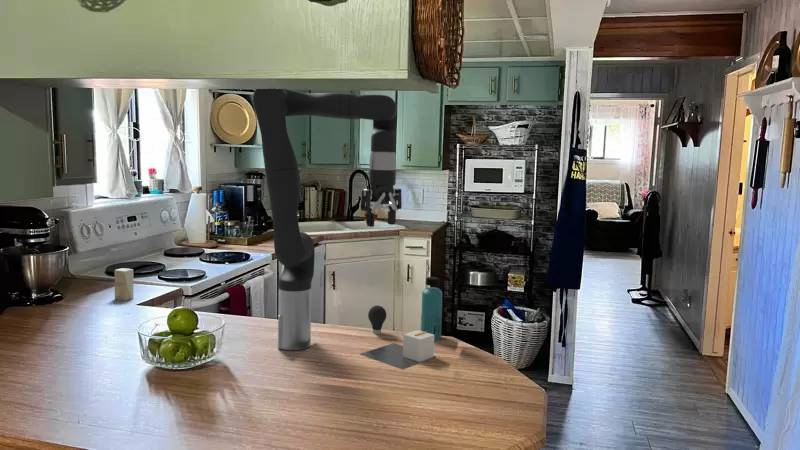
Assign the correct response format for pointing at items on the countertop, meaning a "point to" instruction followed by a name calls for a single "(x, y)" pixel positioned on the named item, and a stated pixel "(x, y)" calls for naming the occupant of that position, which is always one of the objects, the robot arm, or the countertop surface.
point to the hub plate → (392, 356)
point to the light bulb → (377, 318)
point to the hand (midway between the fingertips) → (381, 225)
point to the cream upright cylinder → (123, 284)
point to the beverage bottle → (432, 308)
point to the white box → (418, 345)
